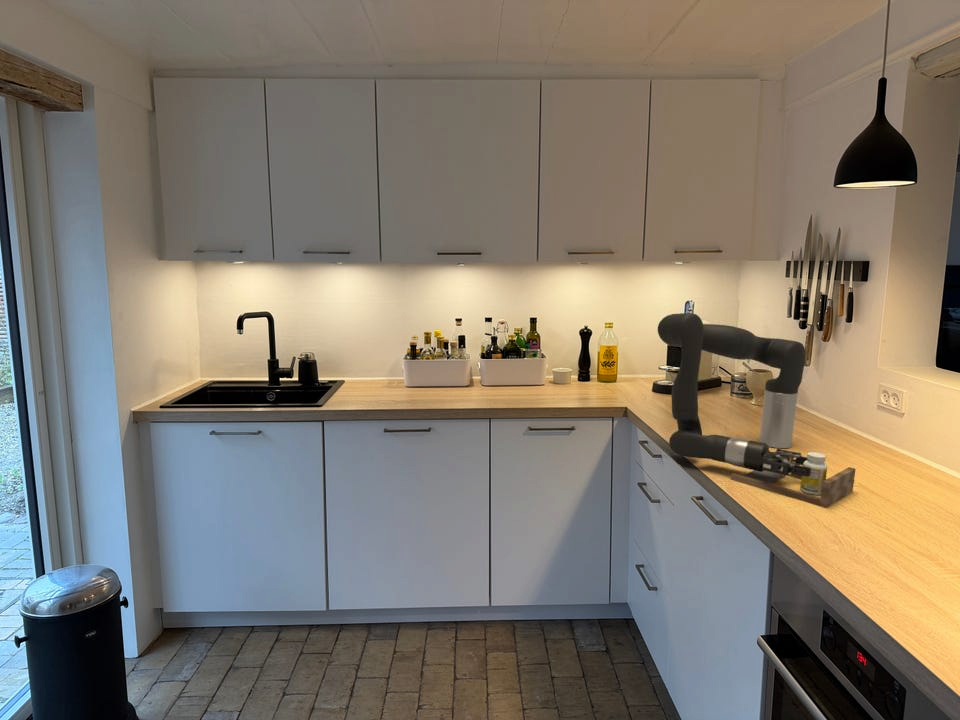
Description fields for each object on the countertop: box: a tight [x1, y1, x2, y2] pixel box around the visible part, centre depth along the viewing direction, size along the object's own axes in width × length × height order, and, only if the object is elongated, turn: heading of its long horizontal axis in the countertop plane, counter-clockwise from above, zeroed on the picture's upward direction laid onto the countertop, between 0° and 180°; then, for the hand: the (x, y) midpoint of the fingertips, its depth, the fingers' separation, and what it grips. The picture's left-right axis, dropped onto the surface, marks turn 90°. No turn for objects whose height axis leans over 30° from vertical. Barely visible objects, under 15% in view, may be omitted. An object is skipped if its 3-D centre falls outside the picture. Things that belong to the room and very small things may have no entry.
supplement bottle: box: [799, 451, 828, 496], centre depth 155 cm, size 5×5×10 cm
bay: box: [730, 467, 857, 508], centre depth 159 cm, size 17×24×6 cm
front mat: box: [742, 470, 787, 484], centre depth 165 cm, size 12×7×1 cm, turn 131°
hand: (814, 468), depth 154 cm, fingers open, 8 cm apart
